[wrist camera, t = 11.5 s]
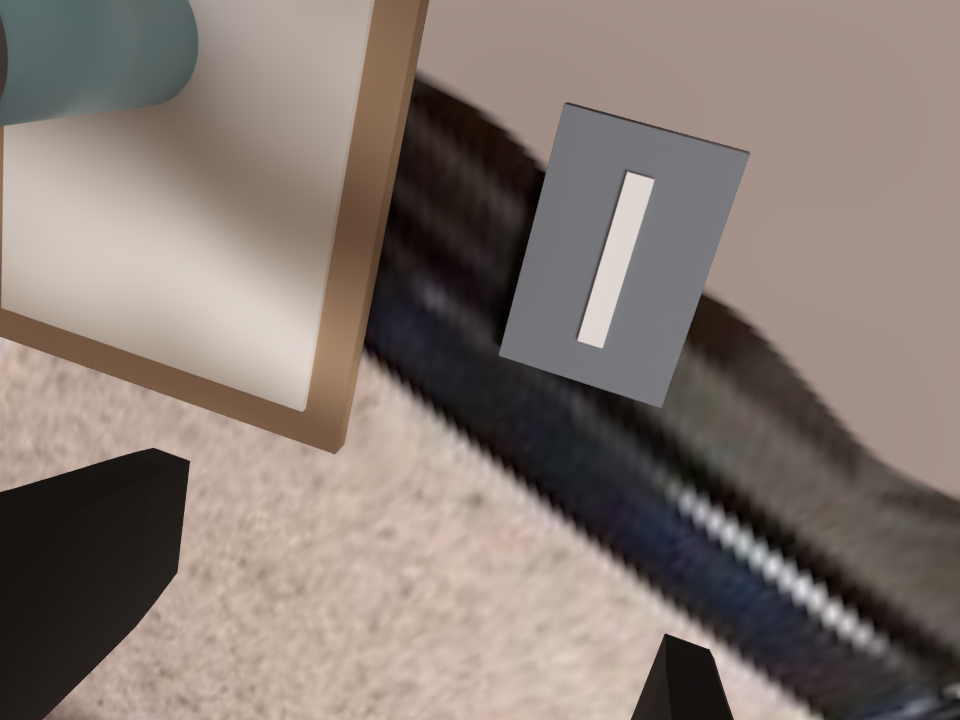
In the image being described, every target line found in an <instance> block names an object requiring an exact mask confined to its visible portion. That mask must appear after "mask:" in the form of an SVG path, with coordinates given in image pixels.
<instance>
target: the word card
mask: <svg viewBox="0 0 960 720" xmlns="http://www.w3.org/2000/svg"><path fill="white" fill-rule="evenodd" d="M749 155H750V153H749V152H748V151H744V150H740V149H737V148H733V147H730V146H726V145H722V144H719V143H715V142H711V141H708V140H704V139H700V138H696V137H693V136H689V135H686V134H682V133H678V132H674V131H671V130H667V129H663V128H660V127H656V126H653V125H649V124H645V123H641V122H638V121H634V120H631V119H627V118H623V117H620V116H616V115H612V114H608V113H605V112H601V111H598V110H594V109H590V108H587V107H582V106H579V105H575V104H572V103H568V102H567V103H565V104H564V106H563V110H562V114H561V118H560V122H559V126H558V130H557V133H556V137H555V141H554V145H553V149H552V153H551V157H550V160H549V164H548V168H547V172H546V176H545V180H544V183H543V187H542V191H541V195H540V199H539V203H538V207H537V210H536V214H535V218H534V222H533V226H532V230H531V234H530V237H529V241H528V245H527V249H526V253H525V257H524V261H523V264H522V268H521V272H520V276H519V280H518V284H517V288H516V291H515V295H514V299H513V303H512V307H511V311H510V314H509V318H508V322H507V326H506V330H505V334H504V338H503V341H502V345H501V349H500V353H499V356H502V357H505V358H508V359H511V360H514V361H517V362H520V363H523V364H526V365H530V366H533V367H536V368H539V369H542V370H545V371H548V372H551V373H554V374H557V375H560V376H564V377H567V378H570V379H573V380H576V381H579V382H582V383H585V384H588V385H591V386H595V387H598V388H601V389H604V390H607V391H610V392H613V393H616V394H619V395H622V396H626V397H629V398H632V399H635V400H638V401H641V402H644V403H647V404H650V405H653V406H657V407H660V408H661V407H662V405H663V402H664V399H665V396H666V393H667V390H668V387H669V384H670V382H671V379H672V376H673V373H674V370H675V367H676V364H677V362H678V359H679V356H680V353H681V350H682V347H683V344H684V341H685V339H686V336H687V333H688V330H689V327H690V324H691V321H692V319H693V316H694V313H695V310H696V307H697V304H698V301H699V298H700V296H701V293H702V290H703V287H704V284H705V281H706V278H707V275H708V273H709V269H710V267H711V264H712V261H713V258H714V255H715V253H716V249H717V247H718V244H719V241H720V238H721V235H722V232H723V230H724V227H725V224H726V221H727V218H728V215H729V212H730V209H731V207H732V204H733V201H734V198H735V195H736V192H737V189H738V187H739V184H740V181H741V178H742V175H743V172H744V169H745V167H746V164H747V161H748V158H749Z"/></svg>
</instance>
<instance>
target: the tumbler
mask: <svg viewBox="0 0 960 720" xmlns="http://www.w3.org/2000/svg"><path fill="white" fill-rule="evenodd" d="M197 55H198V31H197V25H196V21H195V17H194V14H193V11H192V9H191V6H190V4H189V2H188V0H0V126H7V125H14V124H22V123H29V122H36V121H44V120H51V119H58V118H65V117H73V116H80V115H87V114H95V113H102V112H109V111H116V110H124V109H131V108H138V107H146V106H153V105H157V104H161V103H164V102H166V101H168V100H170V99H172V98H173V97H175V96H176V95H177V94H178V93H179V92H181V90H182V89H183V88H184V87H185V86H186V84H187V83H188V81H189V79H190V78H191V75H192V73H193V71H194V68H195V64H196V61H197Z"/></svg>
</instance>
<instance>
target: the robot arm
mask: <svg viewBox="0 0 960 720" xmlns="http://www.w3.org/2000/svg"><path fill="white" fill-rule="evenodd" d="M189 465H190V461H188V460H186V459H183V458H180V457H177V456H175V455H172V454H169V453H166V452H164V451H161V450H158V449H155V448H151V449H147V450H142V451H138V452H134V453H131V454H127V455H124V456H120V457H117V458H113V459H110V460H107V461H103V462H100V463H97V464H94V465H90V466H87V467H84V468H81V469H77V470H74V471H71V472H68V473H64V474H61V475H58V476H54V477H51V478H48V479H44V480H41V481H38V482H34V483H31V484H28V485H24V486H21V487H17V488H14V489H10V490H6V491H3V492H0V720H43V719H44V718H45V717H46V716H47V715H48V714H49V713H50V712H51V711H52V710H53V709H54V708H55V707H56V706H57V705H58V704H59V703H60V702H61V701H62V700H63V699H64V698H65V697H66V696H67V695H68V694H69V693H70V692H71V691H72V690H73V689H74V688H75V687H76V686H77V685H78V684H79V683H80V682H81V681H82V680H83V679H84V678H85V677H86V676H87V675H88V674H89V673H90V672H91V671H92V670H93V669H94V668H95V667H96V666H97V665H98V664H99V663H100V662H101V661H102V660H103V659H104V658H105V657H106V656H107V655H108V654H109V653H110V652H111V651H112V650H113V649H114V648H115V647H116V646H117V645H118V644H119V643H120V642H121V641H122V640H123V639H124V638H125V637H126V636H127V635H128V634H129V633H130V632H131V631H132V630H133V629H134V628H135V627H136V626H137V624H138V623H139V622H140V621H141V619H142V618H143V617H144V616H145V614H146V613H147V612H148V611H149V609H150V608H151V607H152V606H153V604H154V603H155V602H156V600H157V599H158V598H159V596H160V595H161V594H162V592H163V591H164V590H165V588H166V587H167V586H168V584H169V583H170V582H171V580H172V579H173V578H174V576H175V575H176V574H177V571H178V562H179V554H180V545H181V536H182V527H183V518H184V509H185V501H186V492H187V483H188V474H189ZM631 720H734V719H733V716H732V713H731V710H730V707H729V704H728V701H727V698H726V695H725V692H724V689H723V686H722V683H721V680H720V676H719V673H718V670H717V666H716V663H715V660H714V658H713V656H712V654H711V652H710V650H709V649H707V648H704V647H701V646H698V645H696V644H693V643H690V642H687V641H685V640H682V639H679V638H676V637H673V636H671V635H668V634H665V635H664V637H663V640H662V642H661V645H660V647H659V650H658V652H657V655H656V658H655V660H654V663H653V665H652V668H651V670H650V673H649V675H648V678H647V680H646V683H645V685H644V688H643V690H642V693H641V695H640V698H639V700H638V703H637V706H636V708H635V711H634V713H633V716H632V718H631Z"/></svg>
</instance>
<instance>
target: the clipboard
mask: <svg viewBox="0 0 960 720" xmlns="http://www.w3.org/2000/svg"><path fill="white" fill-rule="evenodd" d="M188 2H189V4H190V6H191V9H192V11H193V14H194V17H195V21H196V25H197V31H198V55H197V61H196V64H195V68H194V71H193V73H192V75H191V78H190V79H189V81H188V83H187V84H186V86H185V87H184V88H183V89H182V90H181V92H179V93H178V94H177V95H176V96H175V97H173V98H172V99H170V100H168V101H166V102H164V103H161V104H157V105H153V106H146V107H138V108H131V109H124V110H116V111H109V112H102V113H95V114H87V115H80V116H73V117H65V118H58V119H51V120H44V121H36V122H29V123H22V124H14V125H7V126H0V337H3V338H6V339H8V340H11V341H14V342H17V343H20V344H23V345H26V346H28V347H31V348H34V349H37V350H40V351H43V352H45V353H48V354H51V355H54V356H57V357H60V358H62V359H65V360H68V361H71V362H74V363H77V364H80V365H82V366H85V367H88V368H91V369H94V370H97V371H99V372H102V373H105V374H108V375H111V376H114V377H117V378H119V379H122V380H125V381H128V382H131V383H134V384H136V385H139V386H142V387H145V388H148V389H151V390H154V391H156V392H159V393H162V394H165V395H168V396H171V397H173V398H176V399H179V400H182V401H185V402H188V403H190V404H193V405H196V406H199V407H202V408H205V409H208V410H210V411H213V412H216V413H219V414H222V415H225V416H227V417H230V418H233V419H236V420H239V421H242V422H245V423H247V424H250V425H253V426H256V427H259V428H262V429H264V430H267V431H270V432H273V433H276V434H279V435H282V436H284V437H287V438H290V439H293V440H296V441H299V442H301V443H304V444H307V445H310V446H313V447H316V448H319V449H321V450H324V451H327V452H330V453H333V454H336V453H337V451H338V450H339V449H340V448H341V447H342V446H343V445H344V442H345V437H346V432H347V426H348V421H349V416H350V411H351V405H352V400H353V395H354V390H355V385H356V379H357V374H358V369H359V364H360V359H361V353H362V348H363V343H364V338H365V332H366V327H367V322H368V317H369V312H370V306H371V301H372V296H373V291H374V285H375V280H376V275H377V270H378V265H379V259H380V254H381V249H382V244H383V238H384V233H385V228H386V223H387V218H388V212H389V207H390V202H391V197H392V191H393V186H394V181H395V176H396V171H397V165H398V160H399V155H400V150H401V145H402V139H403V134H404V129H405V124H406V118H407V113H408V108H409V103H410V98H411V92H412V87H413V82H414V77H415V71H416V66H417V61H418V56H419V50H420V45H421V40H422V35H423V30H424V24H425V19H426V14H427V9H428V3H429V0H188Z"/></svg>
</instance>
